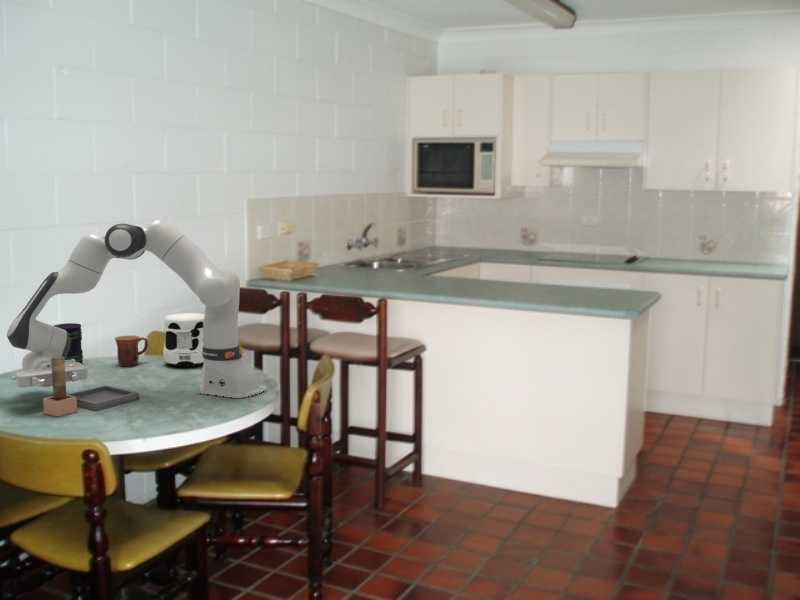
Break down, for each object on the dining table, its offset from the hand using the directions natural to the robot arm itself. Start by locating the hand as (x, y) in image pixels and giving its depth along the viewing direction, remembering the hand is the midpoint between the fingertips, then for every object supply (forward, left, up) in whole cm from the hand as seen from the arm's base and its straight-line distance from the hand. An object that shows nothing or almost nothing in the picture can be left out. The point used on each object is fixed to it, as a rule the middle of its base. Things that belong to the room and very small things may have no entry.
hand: (58, 380), depth 253 cm
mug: (+33, -54, -10) cm, 64 cm away
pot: (-1, 0, -9) cm, 9 cm away
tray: (0, -15, -9) cm, 17 cm away
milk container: (+17, -66, -10) cm, 68 cm away
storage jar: (+50, -39, -10) cm, 64 cm away
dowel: (-1, 0, -9) cm, 9 cm away
